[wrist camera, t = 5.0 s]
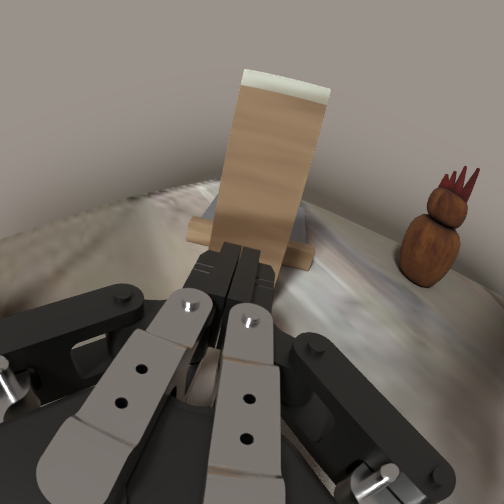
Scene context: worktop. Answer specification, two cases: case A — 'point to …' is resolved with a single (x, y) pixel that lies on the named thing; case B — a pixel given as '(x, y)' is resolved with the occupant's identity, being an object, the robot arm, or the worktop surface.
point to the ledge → (293, 257)
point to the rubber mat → (297, 230)
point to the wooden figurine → (436, 232)
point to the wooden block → (267, 163)
